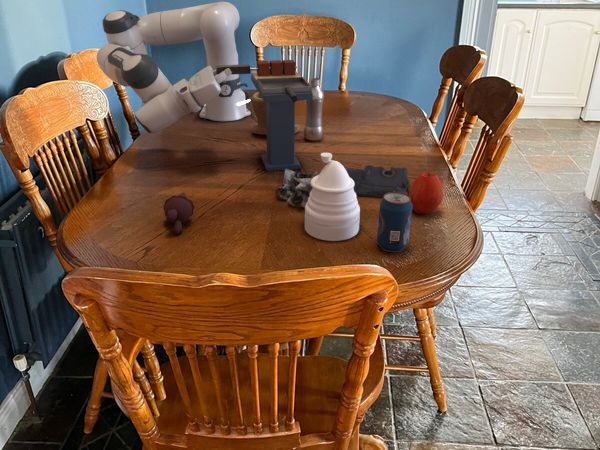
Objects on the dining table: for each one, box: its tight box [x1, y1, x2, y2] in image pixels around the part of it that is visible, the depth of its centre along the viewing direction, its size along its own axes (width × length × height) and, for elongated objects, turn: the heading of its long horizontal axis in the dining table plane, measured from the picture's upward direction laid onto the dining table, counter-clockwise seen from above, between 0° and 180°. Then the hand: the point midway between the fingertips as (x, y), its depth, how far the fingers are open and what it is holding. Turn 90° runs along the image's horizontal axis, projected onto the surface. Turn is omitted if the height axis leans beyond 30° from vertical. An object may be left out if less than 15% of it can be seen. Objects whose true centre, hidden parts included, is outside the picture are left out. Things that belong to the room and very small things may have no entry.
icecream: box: [162, 192, 195, 235], centre depth 135 cm, size 7×7×15 cm
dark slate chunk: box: [345, 164, 410, 198], centre depth 156 cm, size 15×22×5 cm
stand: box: [250, 73, 313, 172], centre depth 164 cm, size 24×13×24 cm, turn 12°
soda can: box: [376, 192, 413, 253], centre depth 124 cm, size 7×7×12 cm
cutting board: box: [251, 70, 302, 83], centre depth 164 cm, size 10×13×1 cm
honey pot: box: [304, 152, 361, 242], centre depth 130 cm, size 13×13×18 cm
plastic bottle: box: [303, 77, 325, 141], centre depth 184 cm, size 6×7×20 cm
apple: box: [408, 171, 444, 216], centre depth 140 cm, size 8×8×11 cm
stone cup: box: [251, 91, 301, 136], centre depth 189 cm, size 15×12×15 cm
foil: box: [275, 169, 319, 208], centre depth 147 cm, size 12×11×15 cm
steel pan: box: [257, 76, 312, 103], centre depth 150 cm, size 20×13×2 cm, turn 12°
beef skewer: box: [216, 59, 298, 77], centre depth 161 cm, size 4×23×4 cm, turn 102°
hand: (229, 68), depth 160 cm, fingers closed
